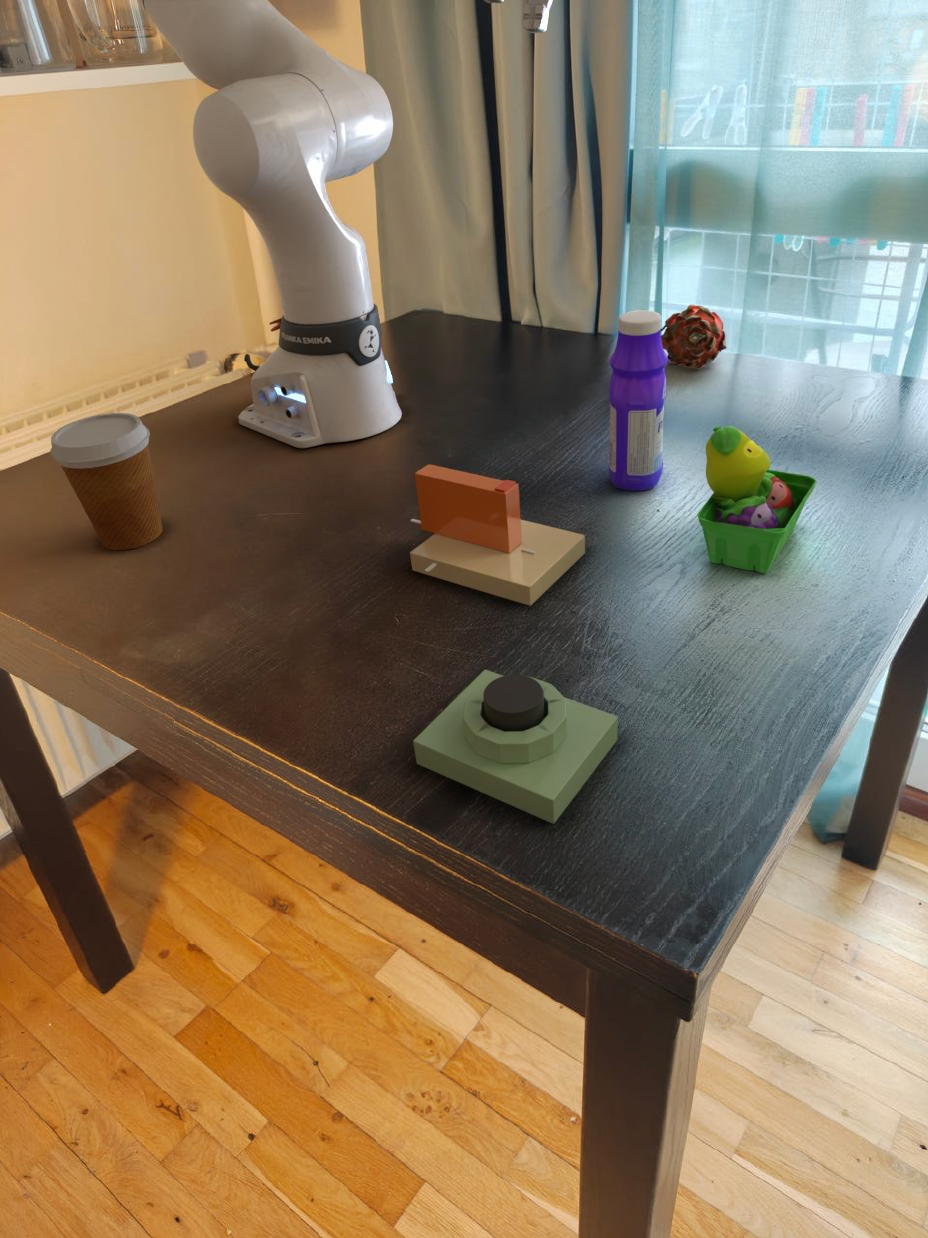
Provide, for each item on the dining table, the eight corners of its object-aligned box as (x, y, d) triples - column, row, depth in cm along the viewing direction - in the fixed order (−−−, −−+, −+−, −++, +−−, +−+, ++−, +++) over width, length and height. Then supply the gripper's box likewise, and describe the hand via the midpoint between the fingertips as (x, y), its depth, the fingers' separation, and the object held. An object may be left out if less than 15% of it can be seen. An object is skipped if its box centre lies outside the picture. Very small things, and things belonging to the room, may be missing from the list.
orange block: (421, 529, 84) (414, 470, 81) (435, 519, 86) (428, 461, 82) (509, 553, 79) (505, 491, 76) (521, 542, 81) (518, 481, 77)
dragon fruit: (705, 390, 117) (668, 376, 128) (754, 344, 116) (711, 333, 126) (669, 343, 113) (634, 332, 124) (719, 295, 112) (679, 288, 123)
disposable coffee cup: (93, 568, 88) (51, 458, 81) (80, 530, 95) (41, 426, 88) (186, 540, 91) (154, 432, 84) (168, 506, 98) (136, 403, 91)
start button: (473, 720, 59) (471, 700, 58) (505, 687, 61) (504, 667, 60) (524, 740, 57) (523, 720, 56) (555, 705, 59) (554, 685, 58)
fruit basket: (776, 585, 75) (793, 464, 69) (677, 563, 79) (685, 447, 73) (811, 526, 83) (829, 412, 76) (719, 509, 87) (729, 400, 81)
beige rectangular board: (368, 572, 83) (365, 552, 82) (454, 508, 92) (452, 489, 91) (517, 618, 74) (516, 597, 73) (595, 543, 84) (595, 523, 82)
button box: (416, 764, 61) (409, 720, 59) (486, 691, 67) (483, 649, 64) (553, 824, 55) (552, 779, 53) (617, 739, 61) (618, 695, 59)
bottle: (661, 495, 90) (670, 325, 81) (606, 494, 92) (607, 327, 82) (662, 465, 96) (670, 303, 86) (610, 464, 97) (612, 305, 87)
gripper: (541, -145, 74) (522, 45, 80) (435, -275, 57) (421, -20, 62) (612, -151, 72) (589, 46, 78) (525, -287, 55) (503, -22, 60)
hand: (513, 16), depth 70 cm, fingers open, 8 cm apart
